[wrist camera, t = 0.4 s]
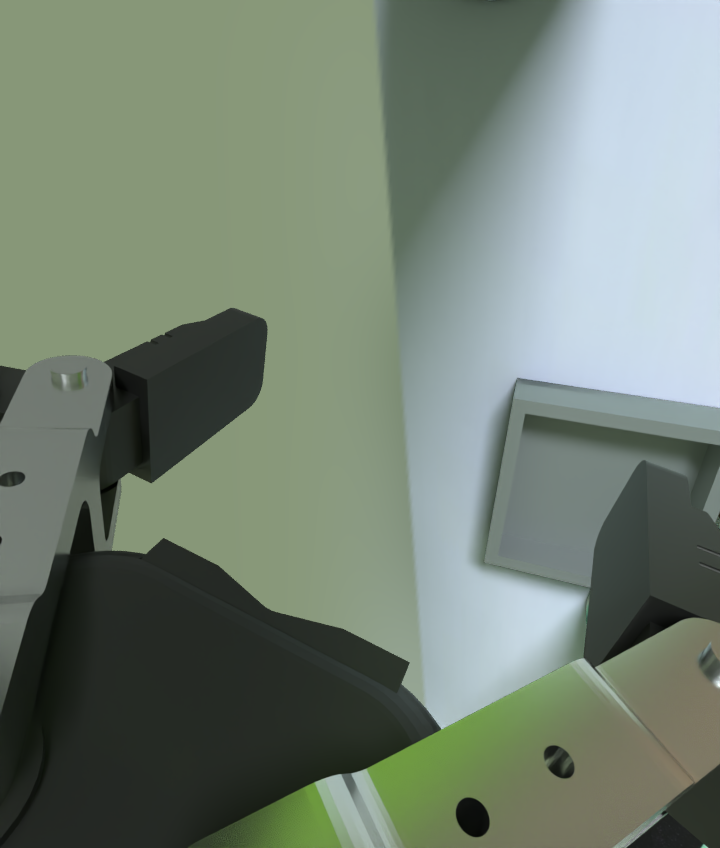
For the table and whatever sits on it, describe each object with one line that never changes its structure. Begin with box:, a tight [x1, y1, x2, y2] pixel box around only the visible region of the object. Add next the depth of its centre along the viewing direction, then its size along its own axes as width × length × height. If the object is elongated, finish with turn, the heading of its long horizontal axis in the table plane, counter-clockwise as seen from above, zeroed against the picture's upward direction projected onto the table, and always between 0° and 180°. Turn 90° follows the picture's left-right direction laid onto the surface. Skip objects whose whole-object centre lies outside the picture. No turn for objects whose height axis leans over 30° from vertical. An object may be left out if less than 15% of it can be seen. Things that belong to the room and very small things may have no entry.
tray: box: [484, 378, 720, 588], centre depth 30 cm, size 10×10×3 cm
